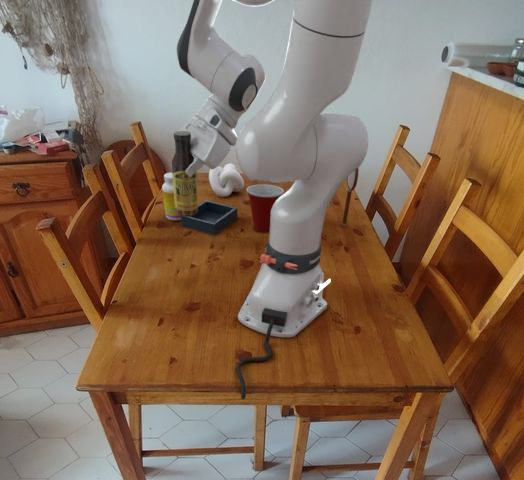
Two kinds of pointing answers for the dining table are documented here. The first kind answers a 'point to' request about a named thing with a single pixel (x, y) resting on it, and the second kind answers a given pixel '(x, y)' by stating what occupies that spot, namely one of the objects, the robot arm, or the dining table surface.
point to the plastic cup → (263, 204)
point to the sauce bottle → (184, 176)
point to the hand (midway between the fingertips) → (181, 169)
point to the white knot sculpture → (225, 180)
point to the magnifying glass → (351, 185)
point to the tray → (210, 217)
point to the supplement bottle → (169, 198)
